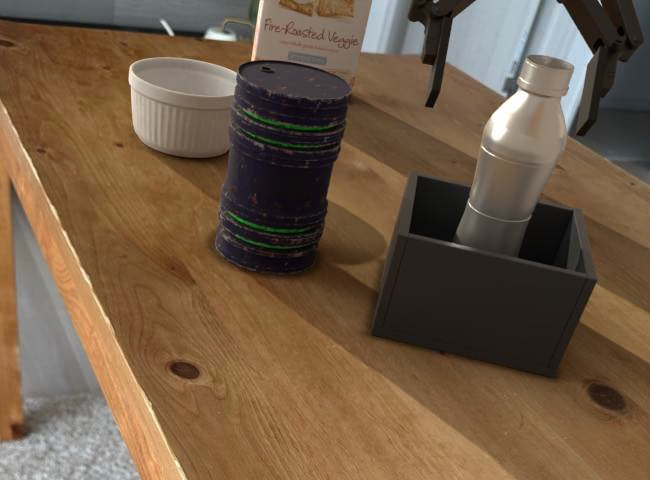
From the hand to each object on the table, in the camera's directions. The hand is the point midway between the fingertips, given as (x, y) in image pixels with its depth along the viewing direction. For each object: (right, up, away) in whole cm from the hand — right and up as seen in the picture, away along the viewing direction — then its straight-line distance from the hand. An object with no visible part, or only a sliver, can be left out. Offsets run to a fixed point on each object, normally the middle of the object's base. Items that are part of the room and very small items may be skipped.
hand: (509, 114), depth 76 cm
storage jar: (-21, -10, +7) cm, 24 cm away
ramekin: (-30, +8, +24) cm, 39 cm away
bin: (-3, -17, +2) cm, 17 cm away
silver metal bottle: (-3, -16, +2) cm, 17 cm away
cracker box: (-15, +25, +45) cm, 54 cm away
